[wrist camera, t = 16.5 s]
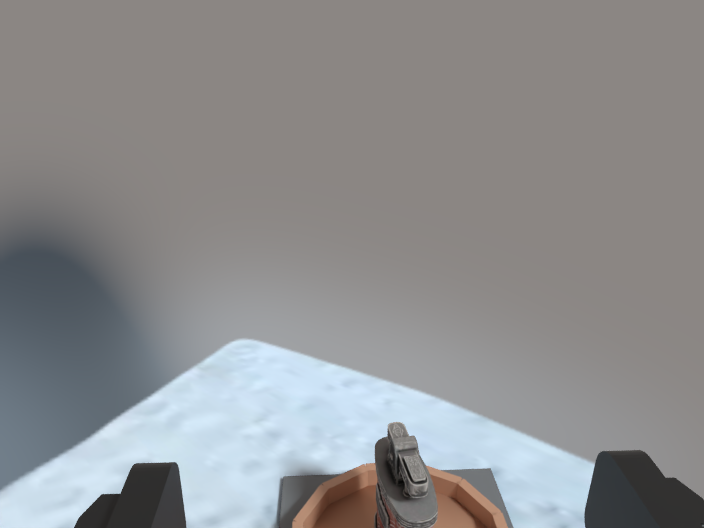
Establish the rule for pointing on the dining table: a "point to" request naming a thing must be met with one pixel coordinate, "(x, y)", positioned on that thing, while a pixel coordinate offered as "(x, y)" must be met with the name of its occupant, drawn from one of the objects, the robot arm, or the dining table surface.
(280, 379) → the dining table surface
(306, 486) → the mat
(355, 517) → the dish
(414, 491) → the lighter
